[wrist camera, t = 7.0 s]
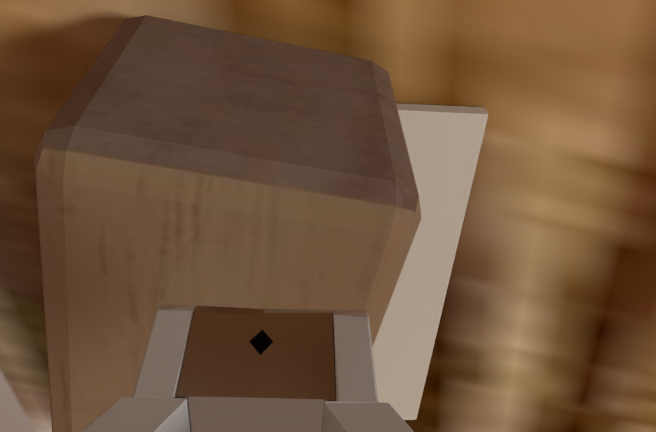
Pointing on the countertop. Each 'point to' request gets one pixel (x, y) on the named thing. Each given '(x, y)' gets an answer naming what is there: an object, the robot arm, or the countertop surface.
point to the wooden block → (211, 195)
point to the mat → (427, 246)
